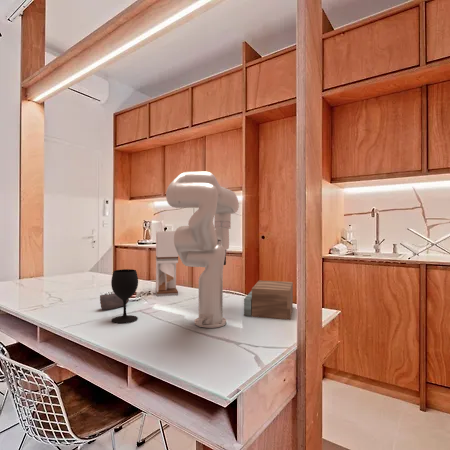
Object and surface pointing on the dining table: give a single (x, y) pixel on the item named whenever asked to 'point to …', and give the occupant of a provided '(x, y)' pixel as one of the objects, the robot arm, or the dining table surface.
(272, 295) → the brown wooden block
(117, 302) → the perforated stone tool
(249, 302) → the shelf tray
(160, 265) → the display case
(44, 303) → the dining table surface
